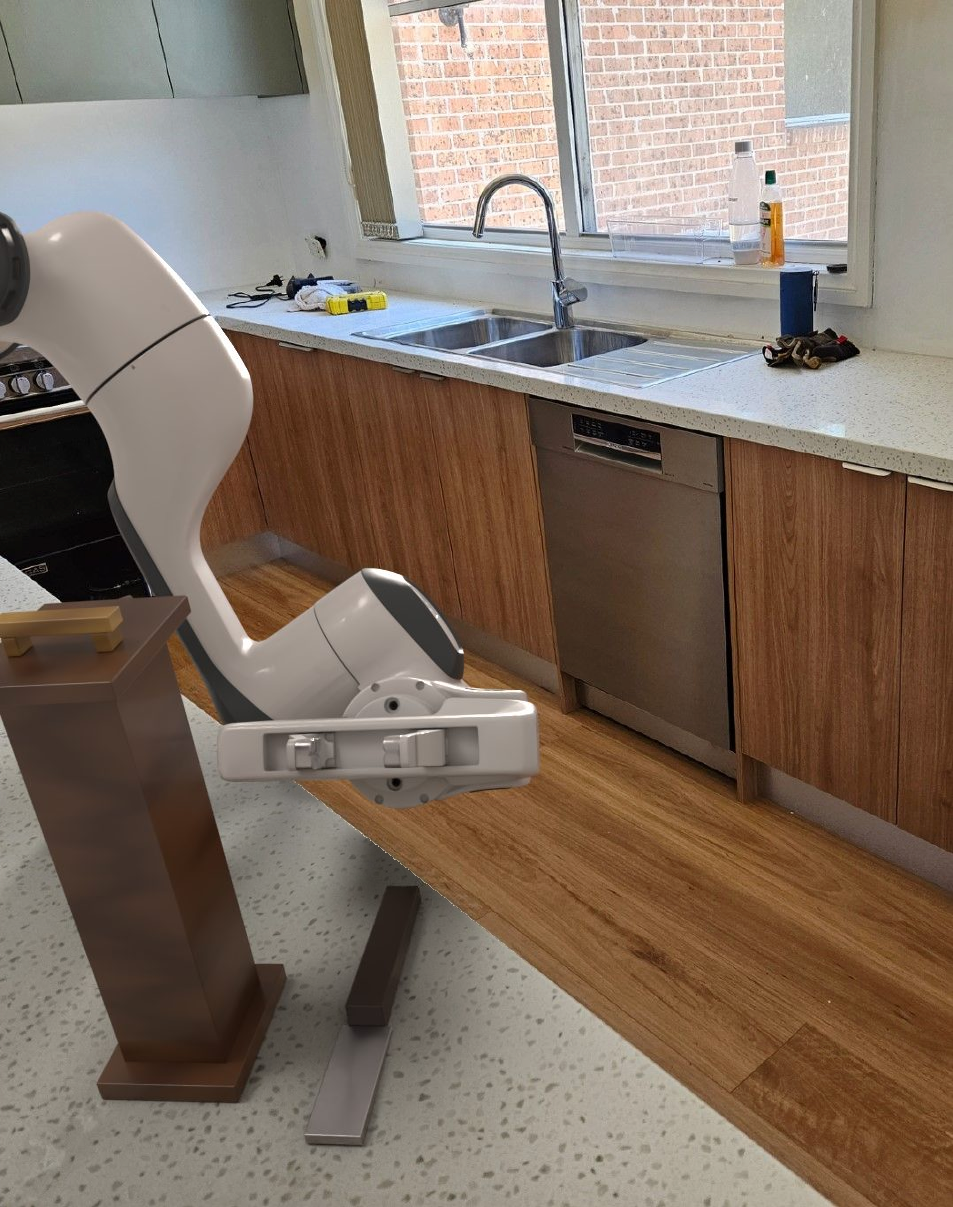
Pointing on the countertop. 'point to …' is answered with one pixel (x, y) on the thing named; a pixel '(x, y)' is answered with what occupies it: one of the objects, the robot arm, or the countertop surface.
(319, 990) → the countertop surface
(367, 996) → the knife
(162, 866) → the brown wooden pedestal
